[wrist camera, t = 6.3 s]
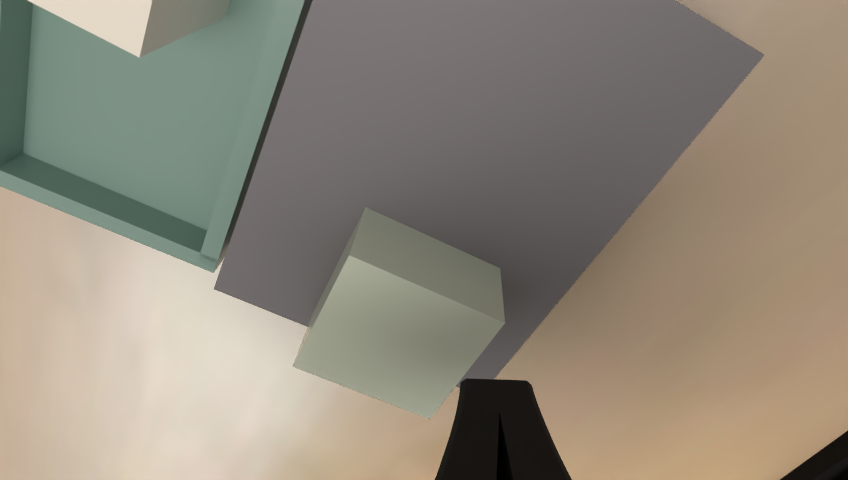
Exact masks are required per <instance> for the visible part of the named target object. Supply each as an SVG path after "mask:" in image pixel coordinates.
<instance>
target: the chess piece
mask: <svg viewBox="0 0 848 480" xmlns="http://www.w3.org/2000/svg"><path fill="white" fill-rule="evenodd" d="M781 480H848V431H847V432H846V433H845V434H843V435H842V436H841V437H839V438H838V439H836V440H835V441H834V442H832V443H831V444H829V445H828V446H827V447H825V448H824V449H823V450H821V451H820V452H818V453H817V454H816V455H814V456H813V457H811V458H810V459H809V460H807V461H806V462H805V463H803V464H802V465H800V466H799V467H798V468H796V469H795V470H793V471H792V472H791V473H789V474H788V475H787V476H785V477H784V478H782V479H781Z"/></svg>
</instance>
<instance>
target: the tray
mask: <svg viewBox="0 0 848 480" xmlns="http://www.w3.org/2000/svg"><path fill="white" fill-rule="evenodd" d="M312 1H313V0H230V2H229V5H228V9H227V12H226V15H225V18H223V19H221V20H219V21H217V22H215V23H212V24H210V25H208V26H206V27H204V28H202V29H200V30H197V31H195V32H193V33H191V34H189V35H187V36H185V37H182V38H180V39H178V40H176V41H174V42H172V43H170V44H167V45H165V46H163V47H161V48H159V49H157V50H155V51H152V52H150V53H148V54H146V55H144V56H142V57H140V58H139V57H137V56H135V55H133V54H131V53H129V52H127V51H125V50H124V49H122V48H120V47H118V46H116V45H114V44H112V43H110V42H108V41H106V40H104V39H102V38H100V37H98V36H96V35H94V34H92V33H90V32H88V31H86V30H84V29H82V28H80V27H78V26H77V25H75V24H73V23H71V22H69V21H67V20H65V19H63V18H61V17H59V16H57V15H55V14H53V13H51V12H49V11H47V10H45V9H43V8H41V7H39V6H37V5H35V4H33V3H31V2H29V1H28V0H0V186H1V187H4V188H6V189H9V190H11V191H14V192H16V193H18V194H21V195H23V196H26V197H28V198H31V199H33V200H36V201H38V202H41V203H43V204H46V205H48V206H50V207H53V208H55V209H58V210H60V211H63V212H65V213H68V214H70V215H73V216H75V217H77V218H80V219H82V220H85V221H87V222H90V223H92V224H95V225H97V226H100V227H102V228H105V229H107V230H109V231H112V232H114V233H117V234H119V235H122V236H124V237H127V238H129V239H132V240H134V241H136V242H139V243H141V244H144V245H146V246H149V247H151V248H154V249H156V250H159V251H161V252H164V253H166V254H168V255H171V256H173V257H176V258H178V259H181V260H183V261H186V262H188V263H191V264H193V265H195V266H198V267H200V268H203V269H205V270H208V271H210V272H213V273H214V272H215V270H216V269H217V267H218V266H219V264H220V263H221V261H222V260H223V259H224V257H225V255H226V252H227V249H228V246H229V243H230V240H231V237H232V234H233V232H234V229H235V226H236V223H237V220H238V217H239V214H240V211H241V208H242V205H243V202H244V199H245V196H246V194H247V191H248V188H249V185H250V182H251V179H252V176H253V173H254V170H255V167H256V164H257V161H258V158H259V156H260V153H261V150H262V147H263V144H264V141H265V138H266V135H267V132H268V129H269V126H270V123H271V120H272V118H273V115H274V112H275V109H276V106H277V103H278V100H279V97H280V94H281V91H282V88H283V85H284V83H285V80H286V77H287V74H288V71H289V68H290V65H291V62H292V59H293V56H294V53H295V50H296V47H297V45H298V42H299V39H300V36H301V33H302V30H303V27H304V24H305V21H306V18H307V15H308V12H309V9H310V7H311V4H312Z"/></svg>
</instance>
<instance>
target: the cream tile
mask: <svg viewBox="0 0 848 480" xmlns="http://www.w3.org/2000/svg"><path fill="white" fill-rule="evenodd" d="M28 1H29V2H31V3H33V4H35V5H37V6H39V7H41V8H43V9H45V10H47V11H49V12H51V13H53V14H55V15H57V16H59V17H61V18H63V19H65V20H67V21H69V22H71V23H73V24H75V25H77V26H78V27H80V28H82V29H84V30H86V31H88V32H90V33H92V34H94V35H96V36H98V37H100V38H102V39H104V40H106V41H108V42H110V43H112V44H114V45H116V46H118V47H120V48H122V49H124V50H125V51H127V52H129V53H131V54H133V55H135V56H137V57H139V58H140V57H142V56H144V55H146V54H148V53H150V52H152V51H155V50H157V49H159V48H161V47H163V46H165V45H167V44H170V43H172V42H174V41H176V40H178V39H180V38H182V37H185V36H187V35H189V34H191V33H193V32H195V31H197V30H200V29H202V28H204V27H206V26H208V25H210V24H212V23H215V22H217V21H219V20H221V19H223V18H225V15H226V12H227V9H228V5H229V2H230V0H28Z"/></svg>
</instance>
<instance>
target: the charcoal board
mask: <svg viewBox="0 0 848 480" xmlns="http://www.w3.org/2000/svg"><path fill="white" fill-rule="evenodd" d="M763 56H764V54H762V53H761V52H759V51H757V50H756V49H754V48H753V47H751V46H749V45H748V44H746V43H744V42H743V41H741V40H739V39H738V38H736V37H734V36H733V35H731V34H729V33H728V32H726V31H724V30H723V29H721V28H719V27H718V26H716V25H715V24H713V23H711V22H710V21H708V20H706V19H705V18H703V17H701V16H700V15H698V14H696V13H695V12H693V11H691V10H690V9H688V8H686V7H685V6H683V5H681V4H680V3H678V2H677V1H675V0H313V1H312V4H311V7H310V9H309V12H308V15H307V18H306V21H305V24H304V27H303V30H302V33H301V36H300V39H299V42H298V45H297V47H296V50H295V53H294V56H293V59H292V62H291V65H290V68H289V71H288V74H287V77H286V80H285V83H284V85H283V88H282V91H281V94H280V97H279V100H278V103H277V106H276V109H275V112H274V115H273V118H272V120H271V123H270V126H269V129H268V132H267V135H266V138H265V141H264V144H263V147H262V150H261V153H260V156H259V158H258V161H257V164H256V167H255V170H254V173H253V176H252V179H251V182H250V185H249V188H248V191H247V194H246V196H245V199H244V202H243V205H242V208H241V211H240V214H239V217H238V220H237V223H236V226H235V229H234V232H233V234H232V237H231V240H230V243H229V246H228V249H227V252H226V255H225V258H224V261H223V264H222V267H221V270H220V272H219V275H218V278H217V281H216V284H215V287H214V289H215V290H218V291H220V292H223V293H225V294H228V295H230V296H233V297H235V298H238V299H240V300H243V301H245V302H248V303H250V304H253V305H255V306H257V307H260V308H262V309H265V310H267V311H270V312H272V313H275V314H277V315H280V316H282V317H285V318H287V319H290V320H292V321H295V322H297V323H300V324H302V325H305V326H307V327H308V325H309V322H310V320H311V317H312V314H313V312H314V310H315V308H316V305H317V303H318V301H319V299H320V297H321V295H322V293H323V291H324V289H325V287H326V285H327V283H328V281H329V279H330V277H331V275H332V273H333V271H334V269H335V267H336V265H337V263H338V261H339V259H340V257H341V255H342V253H343V251H344V249H345V247H346V245H347V243H348V241H349V239H350V237H351V235H352V233H353V231H354V229H355V227H356V225H357V223H358V221H359V219H360V217H361V215H362V213H363V211H364V209H365V207H367V208H369V209H371V210H373V211H375V212H378V213H380V214H382V215H384V216H386V217H389V218H391V219H393V220H395V221H397V222H400V223H402V224H404V225H406V226H408V227H411V228H413V229H415V230H417V231H419V232H422V233H424V234H426V235H428V236H430V237H432V238H435V239H437V240H439V241H441V242H443V243H446V244H448V245H450V246H452V247H454V248H457V249H459V250H461V251H463V252H465V253H468V254H470V255H472V256H474V257H476V258H479V259H481V260H483V261H485V262H487V263H490V264H492V265H494V266H496V267H498V268H500V271H501V282H502V294H503V305H504V316H505V324H504V325H503V326H502V328H501V329H500V330H499V331H498V333H497V334H496V335H495V337H494V338H493V339H492V340H491V342H490V343H489V344H488V345H487V347H486V348H485V349H484V351H483V352H482V353H481V354H480V356H479V357H478V358H477V360H476V361H475V362H474V363H473V365H472V366H471V367H470V368H469V370H468V371H467V372H466V374H465V375H464V376H463V377H462V379H461V380H460V381H459V382H458V384H457V385H456V386H457V387H459V388H460V382H461V381H463V380H464V379H466V378H470V379H494V378H495V377H496V376H497V375H498V374H499V372H500V371H501V370H502V369H503V368H504V366H505V365H506V364H507V363H508V362H509V360H510V359H511V358H512V357H513V356H514V354H515V353H516V352H517V351H518V350H519V348H520V347H521V346H522V345H523V344H524V342H525V341H526V340H527V339H528V338H529V336H530V335H531V334H532V333H533V332H534V330H535V329H536V328H537V327H538V326H539V324H540V323H541V322H542V321H543V320H544V318H545V317H546V316H547V315H548V314H549V312H550V311H551V310H552V309H553V308H554V306H555V305H556V304H557V303H558V302H559V300H560V299H561V298H562V297H563V296H564V295H565V293H566V292H567V291H568V290H569V289H570V287H571V286H572V285H573V284H574V283H575V281H576V280H577V279H578V278H579V277H580V275H581V274H582V273H583V272H584V271H585V269H586V268H587V267H588V266H589V265H590V263H591V262H592V261H593V260H594V259H595V257H596V256H597V255H598V254H599V253H600V251H601V250H602V249H603V248H604V247H605V245H606V244H607V243H608V242H609V241H610V239H611V238H612V237H613V236H614V235H615V233H616V232H617V231H618V230H619V229H620V227H621V226H622V225H623V224H624V223H625V221H626V220H627V219H628V218H629V217H630V215H631V214H632V213H633V212H634V211H635V210H636V208H637V207H638V206H639V205H640V204H641V202H642V201H643V200H644V199H645V198H646V196H647V195H648V194H649V193H650V192H651V190H652V189H653V188H654V187H655V186H656V184H657V183H658V182H659V181H660V180H661V178H662V177H663V176H664V175H665V174H666V172H667V171H668V170H669V169H670V168H671V166H672V165H673V164H674V163H675V162H676V160H677V159H678V158H679V157H680V156H681V154H682V153H683V152H684V151H685V150H686V148H687V147H688V146H689V145H690V144H691V142H692V141H693V140H694V139H695V138H696V136H697V135H698V134H699V133H700V132H701V131H702V129H703V128H704V127H705V126H706V125H707V123H708V122H709V121H710V120H711V119H712V117H713V116H714V115H715V114H716V113H717V111H718V110H719V109H720V108H721V107H722V105H723V104H724V103H725V102H726V101H727V99H728V98H729V97H730V96H731V95H732V93H733V92H734V91H735V90H736V89H737V87H738V86H739V85H740V84H741V83H742V81H743V80H744V79H745V78H746V77H747V75H748V74H749V73H750V72H751V71H752V69H753V68H754V67H755V66H756V65H757V63H758V62H759V61H760V60H761V59H762V57H763Z"/></svg>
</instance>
